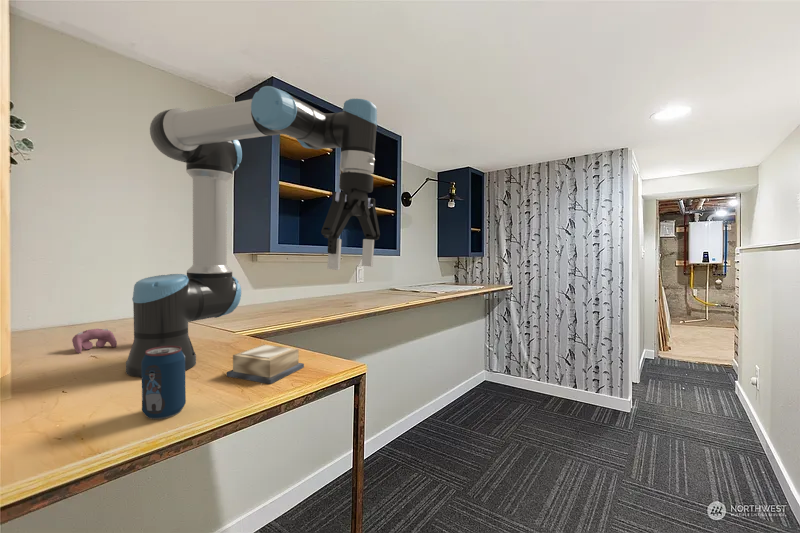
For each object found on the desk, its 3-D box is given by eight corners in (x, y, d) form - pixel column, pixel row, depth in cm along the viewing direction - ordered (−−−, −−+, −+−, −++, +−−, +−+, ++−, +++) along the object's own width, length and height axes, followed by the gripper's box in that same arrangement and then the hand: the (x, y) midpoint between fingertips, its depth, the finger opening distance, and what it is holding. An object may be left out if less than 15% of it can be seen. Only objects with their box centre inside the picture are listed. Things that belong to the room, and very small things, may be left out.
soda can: (183, 402, 75) (183, 343, 75) (187, 415, 70) (186, 351, 69) (142, 409, 71) (141, 347, 71) (142, 424, 66) (141, 357, 65)
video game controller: (114, 350, 115) (110, 328, 117) (119, 345, 113) (114, 323, 114) (72, 357, 107) (68, 334, 109) (76, 353, 105) (72, 329, 106)
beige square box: (226, 376, 90) (226, 354, 90) (263, 361, 103) (263, 342, 102) (270, 384, 86) (270, 361, 86) (303, 367, 98) (304, 347, 98)
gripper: (337, 162, 71) (331, 273, 73) (397, 181, 94) (391, 266, 96) (306, 163, 75) (301, 268, 77) (371, 181, 97) (366, 263, 99)
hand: (351, 267), depth 86 cm, fingers open, 13 cm apart
